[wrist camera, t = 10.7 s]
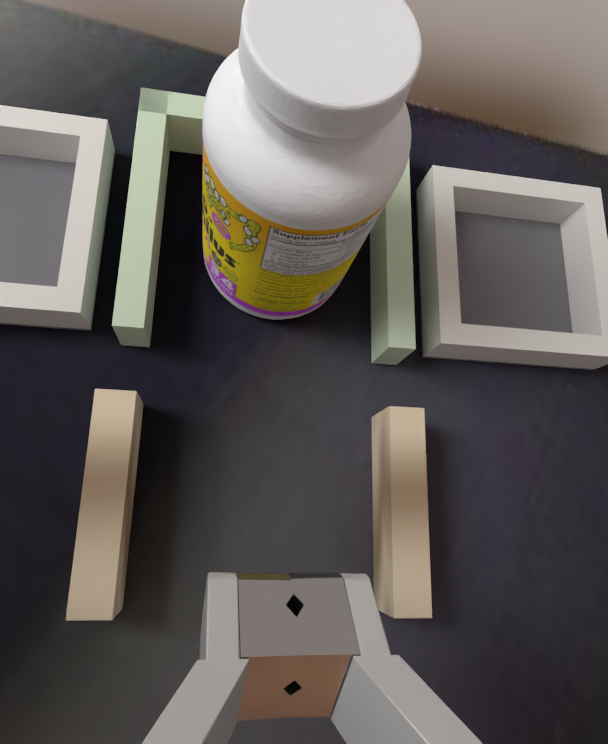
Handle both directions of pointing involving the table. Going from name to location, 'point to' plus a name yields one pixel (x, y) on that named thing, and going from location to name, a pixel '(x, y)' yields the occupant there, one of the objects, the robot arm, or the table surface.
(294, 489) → the table surface
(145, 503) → the table surface
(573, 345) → the tray
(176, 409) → the table surface
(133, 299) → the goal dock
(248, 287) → the supplement bottle
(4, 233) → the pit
